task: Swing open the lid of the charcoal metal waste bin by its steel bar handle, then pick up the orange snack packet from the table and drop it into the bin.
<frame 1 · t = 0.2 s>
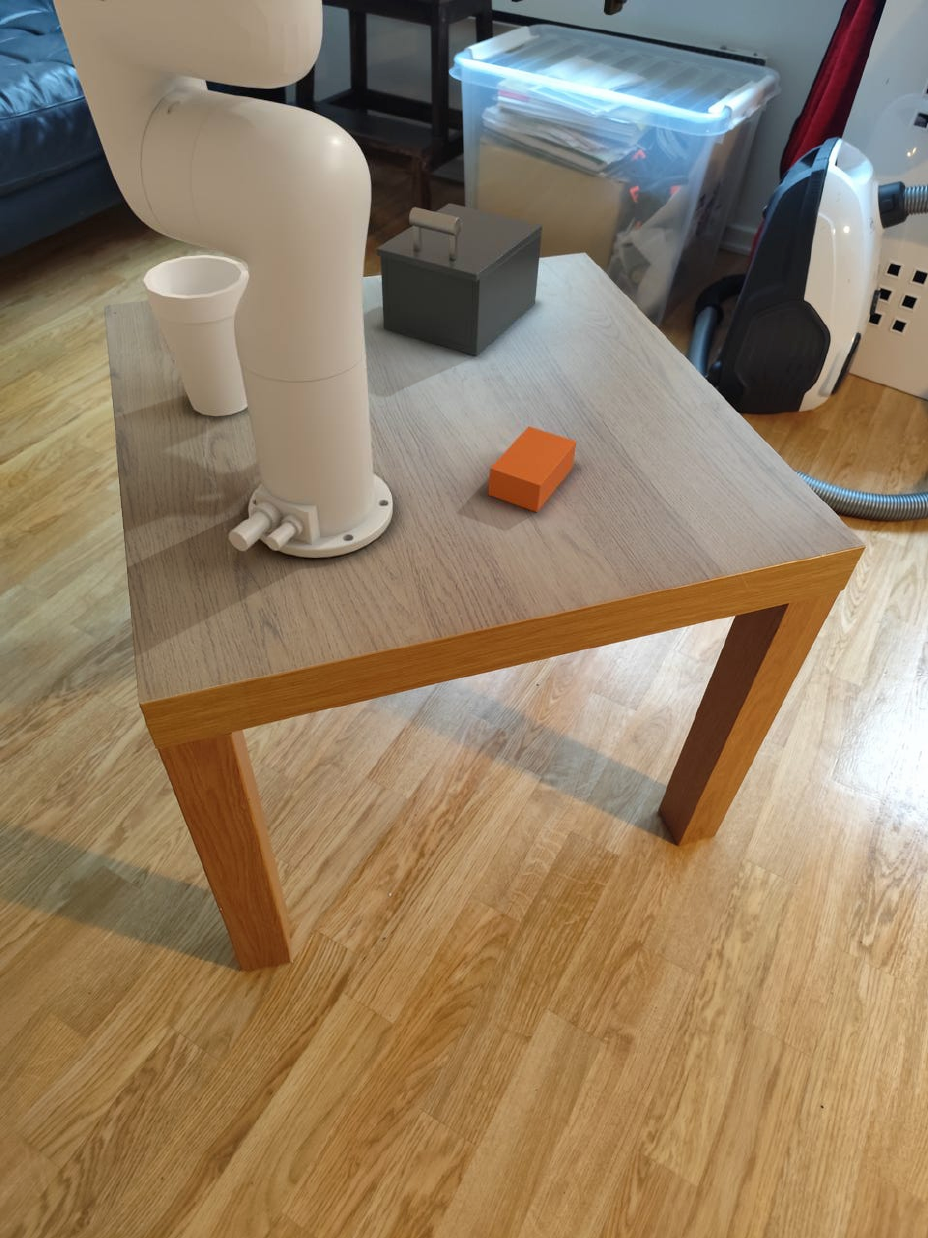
hand: (566, 5, 79), 31 cm above the table, tool pointing down, fingers open, 9 cm apart
bin: (461, 316, 100), on the table
foam cup: (222, 401, 86), on the table
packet: (531, 481, 77), on the table
lid: (462, 219, 92), point 11 cm above the table, hinge at 0.0°
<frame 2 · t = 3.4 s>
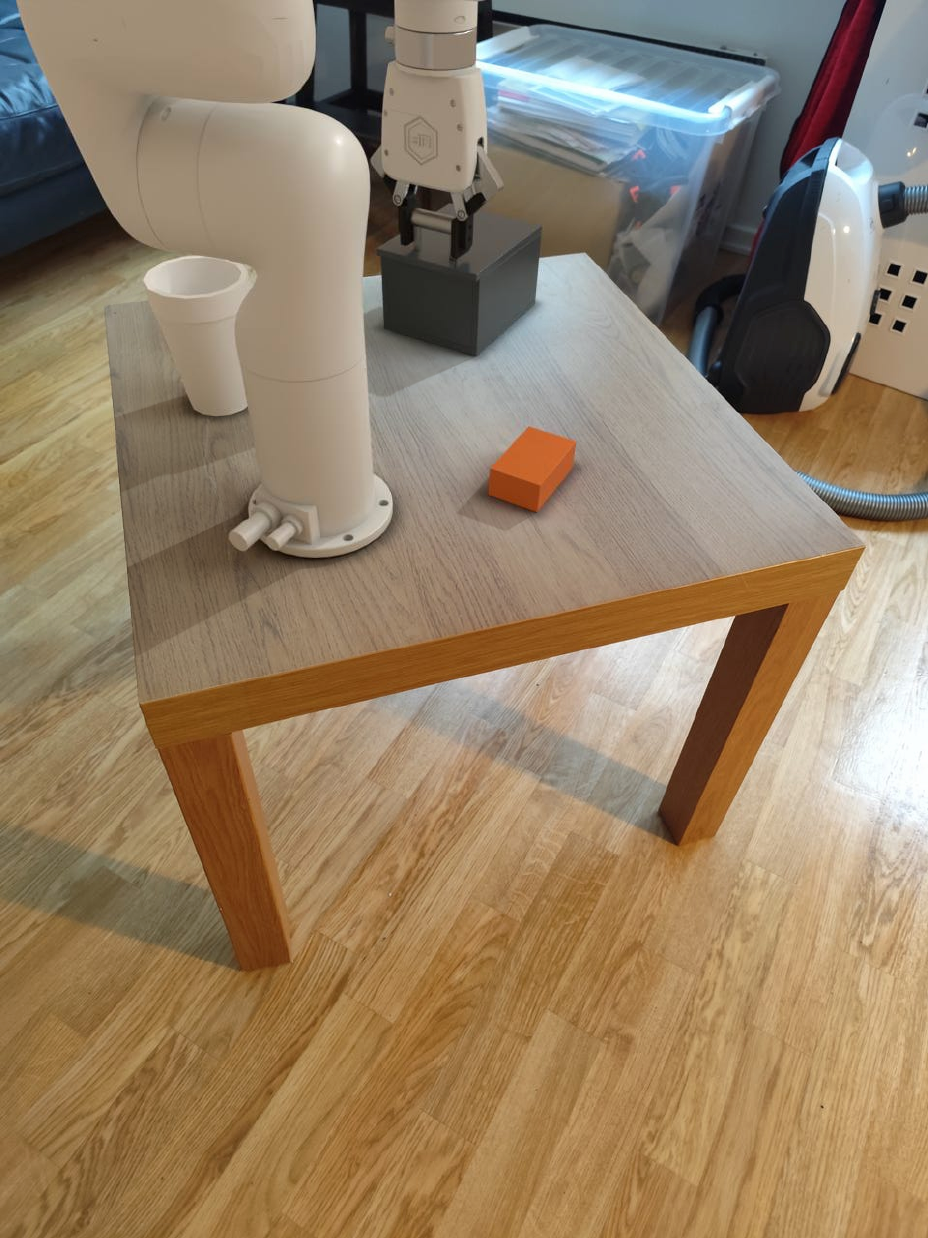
hand: (435, 245, 89), 11 cm above the table, tool pointing down, fingers closed on lid, 5 cm apart
lid: (462, 219, 92), point 11 cm above the table, hinge at 0.0°, touching gripper
everything else where it was.
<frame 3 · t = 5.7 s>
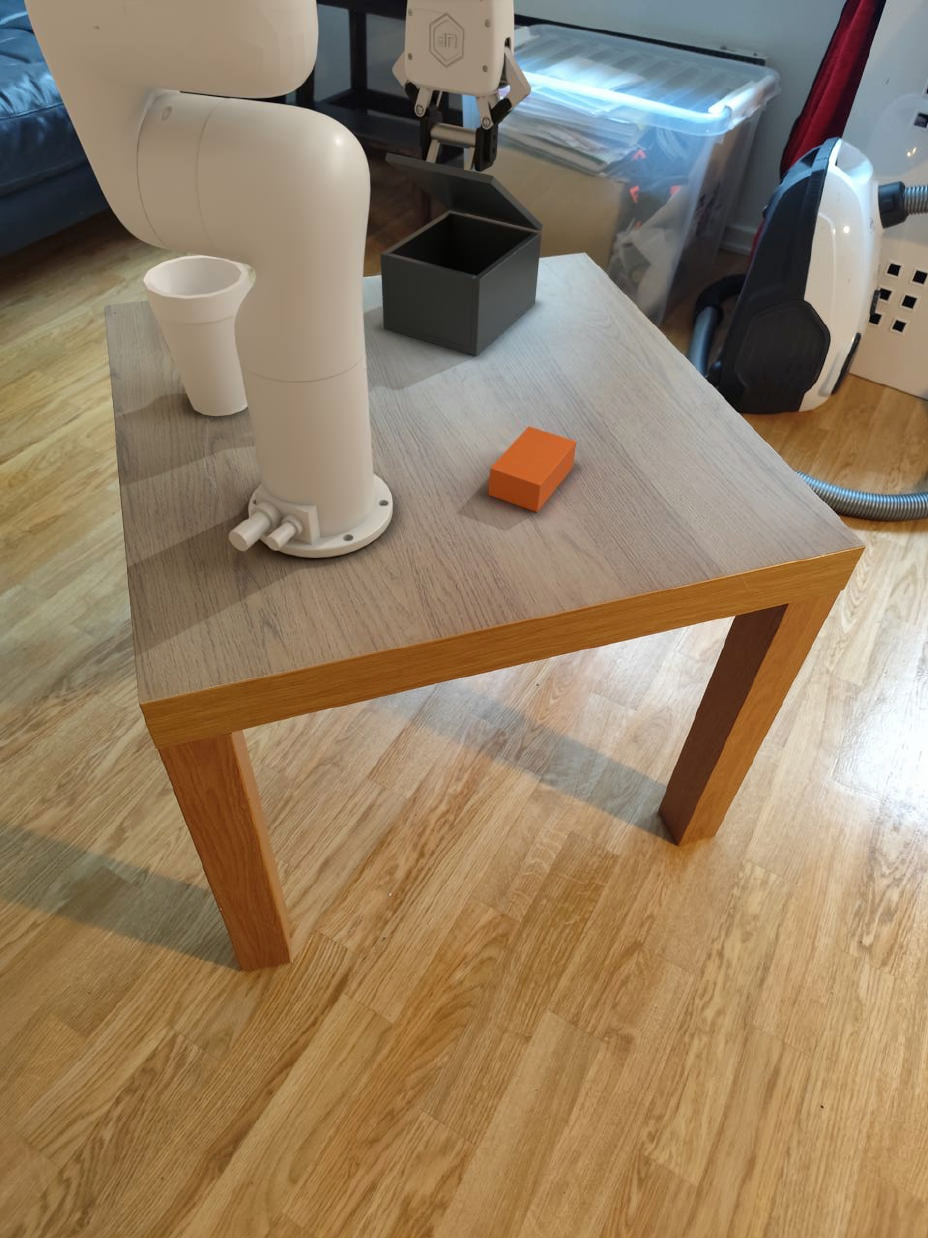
hand: (457, 160, 86), 18 cm above the table, tool pointing down, fingers closed on lid, 5 cm apart
lid: (474, 173, 90), point 16 cm above the table, hinge at 33.0°, touching gripper
everything else where it was.
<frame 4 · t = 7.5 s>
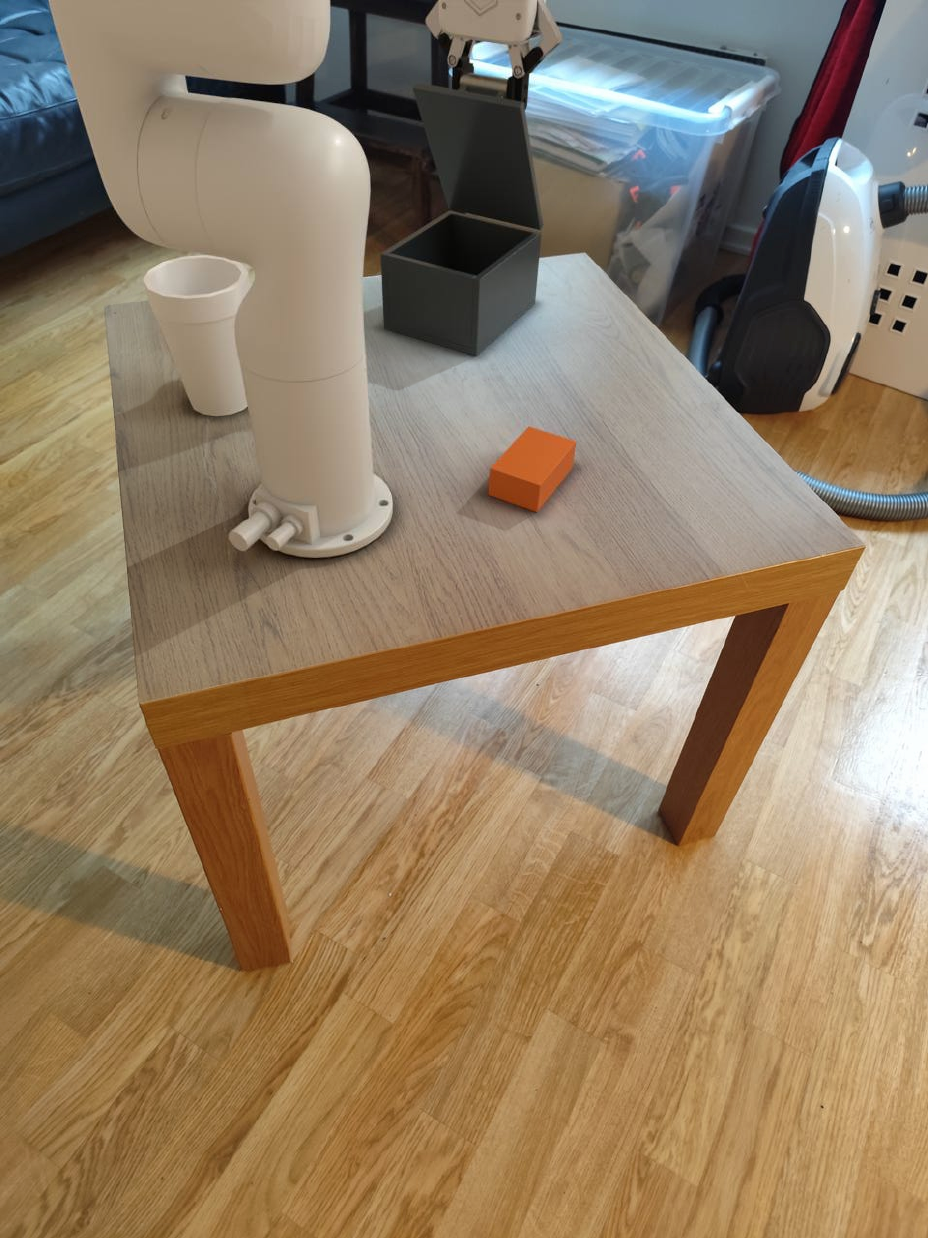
hand: (488, 111, 88), 21 cm above the table, tool pointing down, fingers closed on lid, 5 cm apart
lid: (490, 145, 91), point 17 cm above the table, hinge at 60.8°, touching gripper
everything else where it was.
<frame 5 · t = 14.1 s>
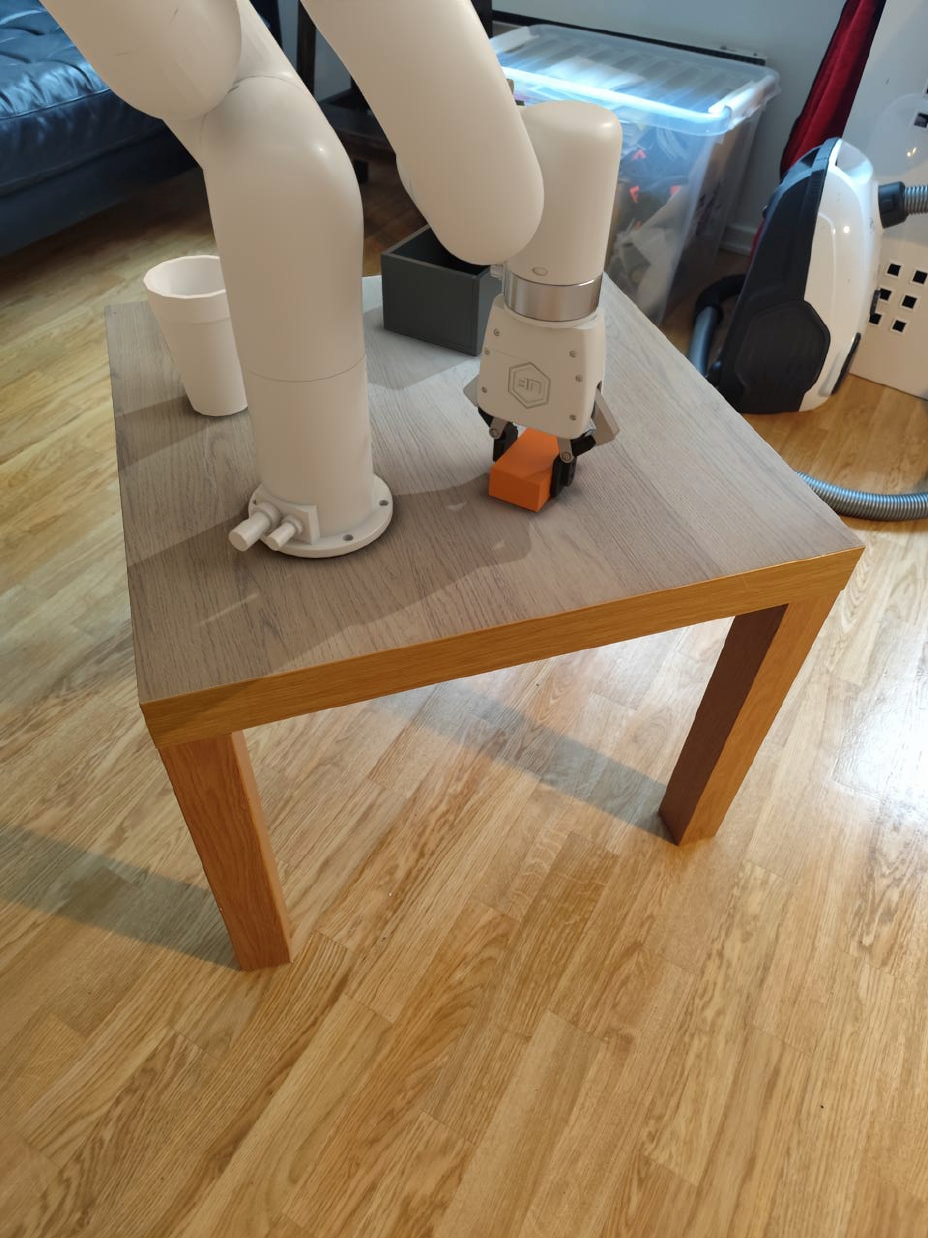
hand: (532, 477, 77), 0 cm above the table, tool pointing down, fingers closed on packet, 5 cm apart
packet: (531, 481, 77), on the table, touching gripper
lid: (490, 145, 91), point 17 cm above the table, hinge at 61.2°
everything else where it was.
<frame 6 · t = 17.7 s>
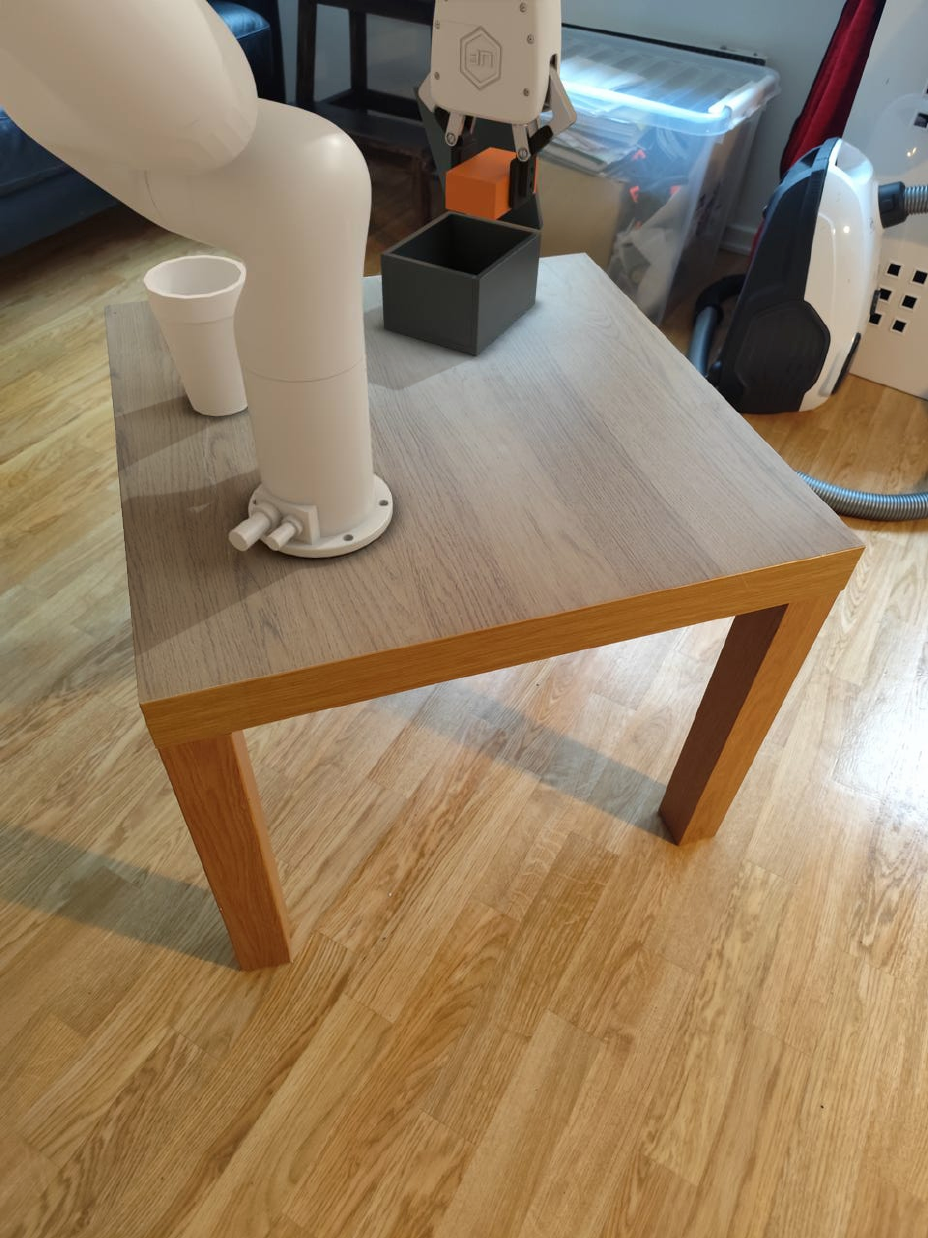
hand: (491, 195, 74), 20 cm above the table, tool pointing down, fingers closed on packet, 5 cm apart
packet: (491, 200, 75), point 19 cm above the table, touching gripper
everything else where it was.
when the fingers open (10 cm above the table, at t = 21.5 s): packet drops 4 cm and tips over, resting on bin.
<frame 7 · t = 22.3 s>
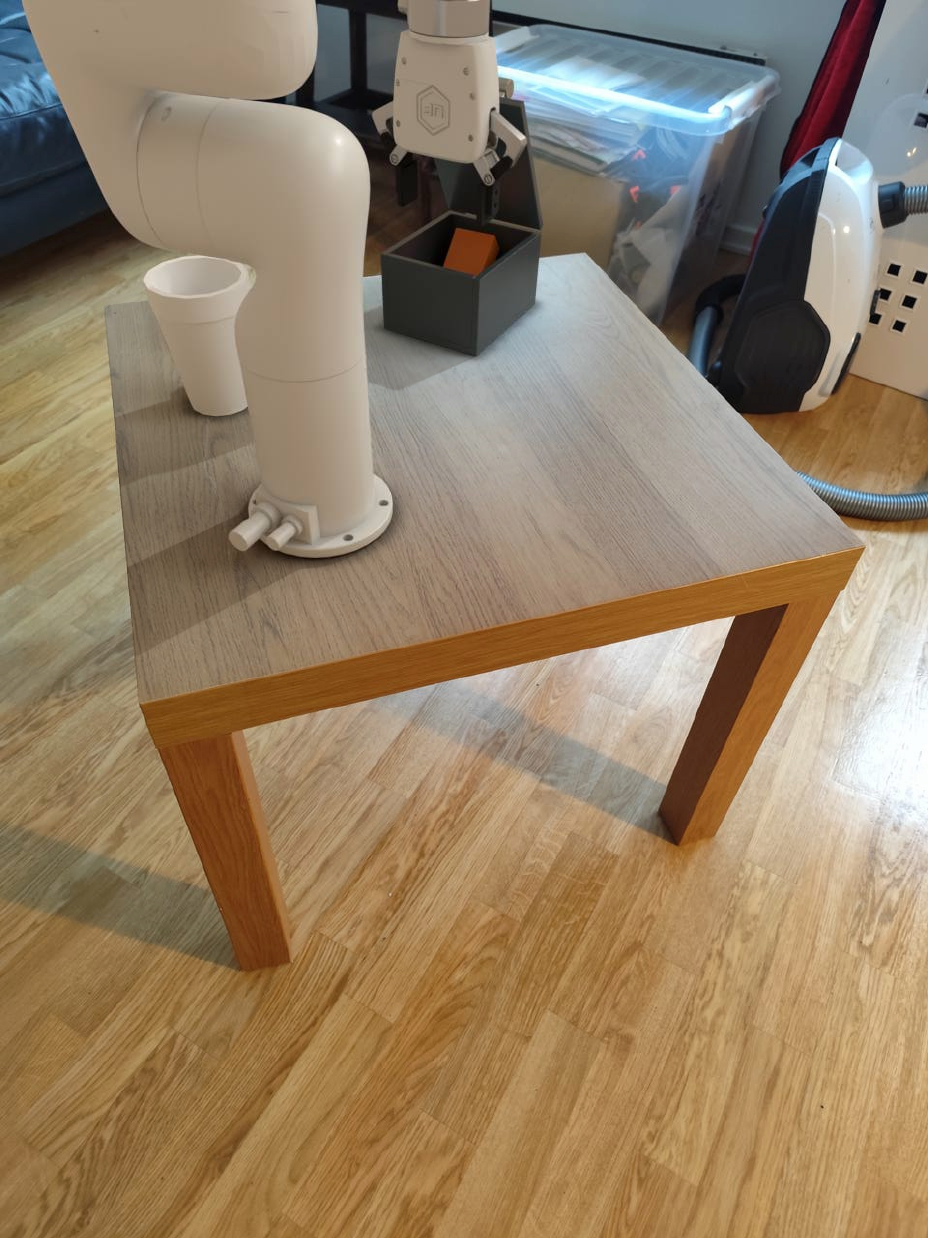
hand: (446, 211, 88), 13 cm above the table, tool pointing down, fingers open, 9 cm apart
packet: (464, 262, 98), point 6 cm above the table, tilted 139°, touching bin
everything else where it was.
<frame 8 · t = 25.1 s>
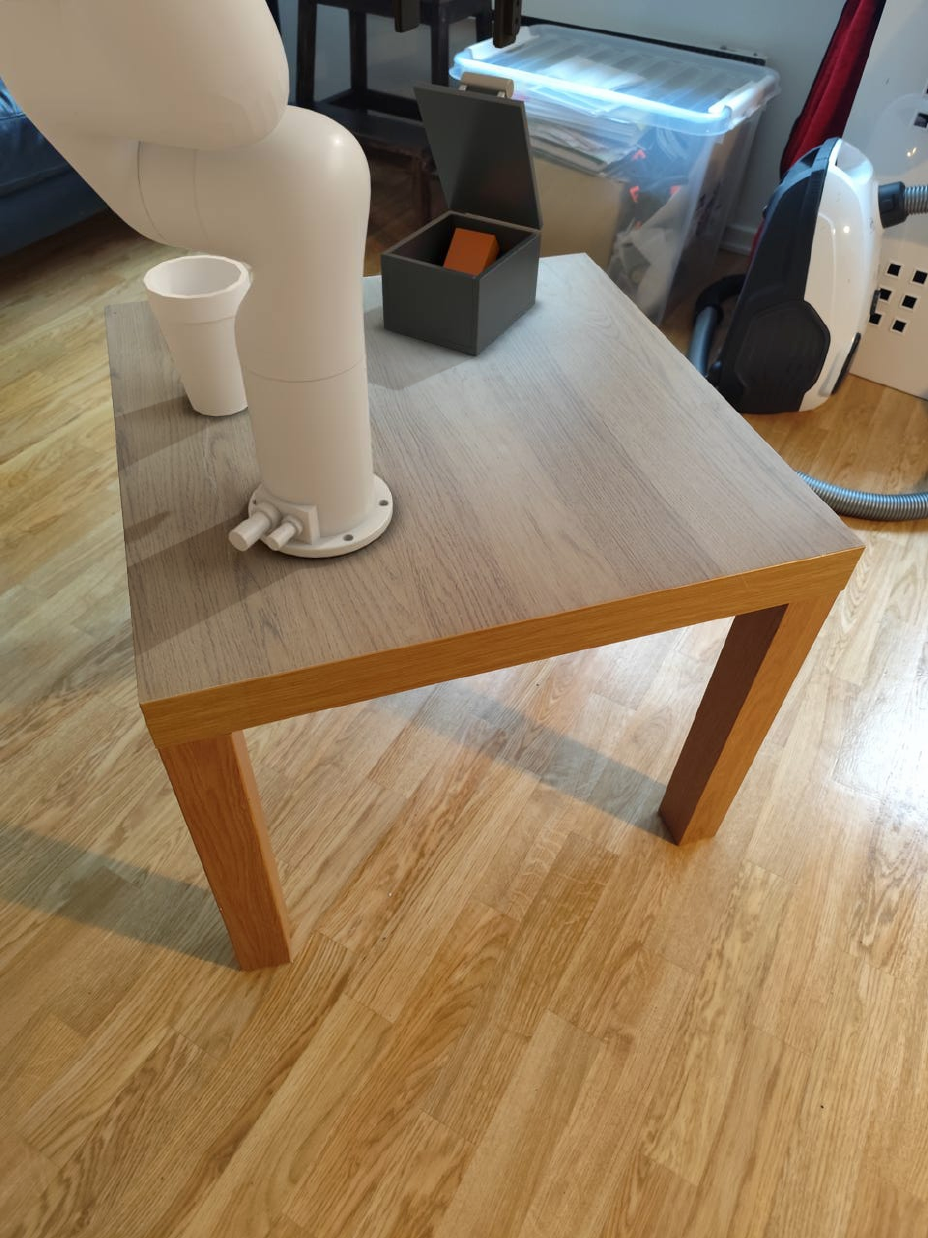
hand: (454, 37, 71), 30 cm above the table, tool pointing down, fingers open, 9 cm apart
nothing on the table moved.
at the end: lid at +61° (first picture: +0°); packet inside the target area in the bin (2.0 cm from its centre), point 5.7 cm above the bin's base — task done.
